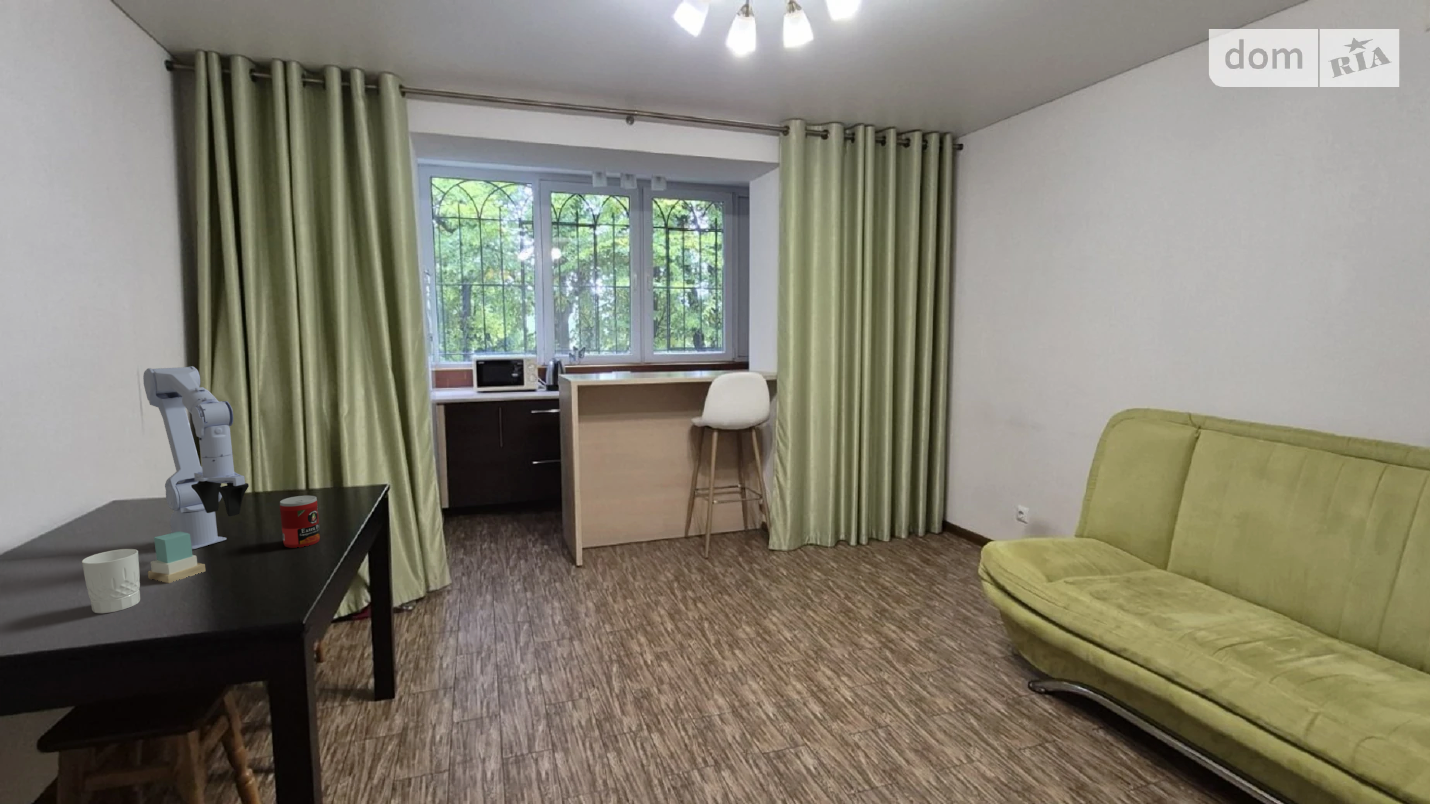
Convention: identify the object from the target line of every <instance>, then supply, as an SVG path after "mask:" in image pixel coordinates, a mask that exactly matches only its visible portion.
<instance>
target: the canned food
mask: <svg viewBox="0 0 1430 804" xmlns="http://www.w3.org/2000/svg"><path fill="white" fill-rule="evenodd" d="M318 507H319V505H318V499H317V496H315V495H298V496H291V497H287V498H283V499H282V500H280V501H279V512H280V513H279V514H280V523H281V531H282V532H281V533H282V534H281V535H282V541H283V542H282V543H283V545H284V547H285V548H290V549H296V548H297V547H299V548H304V546H306V547H309V545H310V546H313V545H315V544H317V543H319V542H320V539H321V529H320V519H319V508H318Z"/></svg>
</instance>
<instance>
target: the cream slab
mask: <svg viewBox="0 0 1430 804" xmlns="http://www.w3.org/2000/svg"><path fill="white" fill-rule="evenodd" d="M192 555H193V556H192V557H188V558H185V559H181V560H178V561H174V562H171V563H165V562H162V561H158V560H157V559H156V560H152V561H150V568H151V569H150V570H152V572H156V573H162V574H168V575H170V574H173V573H176V572H179V571H182V570H185V569H188V568H191V567H194V566H197V563H198V557H197V555H194V554H192Z"/></svg>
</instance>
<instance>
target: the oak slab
mask: <svg viewBox="0 0 1430 804" xmlns="http://www.w3.org/2000/svg"><path fill="white" fill-rule="evenodd" d="M201 572H202V573H204V572H206V564H205V563H200V562H197V566H194V567H191V568H188V569H185V570H182V571H179V572H176V573H173V574H170V575H168V574H162V573H156V572H152V569H150V570H148V571H147V575H148V576H147V577H148V579H149V580H152V579H155V580H154V581H157V580H158V581H157V582H161V581H162V583H166V584H171V583H174V582H177V581H180V580H184V579H186V577H187V578H189V577H188V576H190V577H193V576H195V574H196V575H198V573H199V574H202V573H201ZM179 579H180V580H179ZM176 580H177V581H176ZM173 581H174V582H173Z"/></svg>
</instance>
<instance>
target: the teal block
mask: <svg viewBox="0 0 1430 804" xmlns="http://www.w3.org/2000/svg"><path fill="white" fill-rule="evenodd" d="M153 541H154V547H155V550H154V551H155V556H156V560H158V561H162V562H165V563H171V562H174V561H178V560H181V559H185V558H188V557H192V556H193V555H194V554H193V549H192V547H191V539H190V534H188V533H184V532H180V531H178V532H174V533H167V534H163V535H159V536H158V535H157V536H154V537H153Z"/></svg>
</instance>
